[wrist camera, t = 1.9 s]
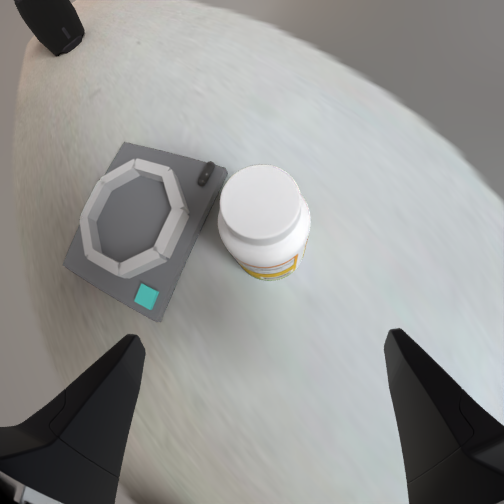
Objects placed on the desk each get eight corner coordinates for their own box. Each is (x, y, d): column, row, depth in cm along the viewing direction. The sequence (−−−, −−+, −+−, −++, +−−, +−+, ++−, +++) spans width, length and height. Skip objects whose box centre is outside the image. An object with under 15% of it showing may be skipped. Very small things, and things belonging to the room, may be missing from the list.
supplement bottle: (262, 204, 24) (248, 135, 15) (316, 239, 23) (336, 185, 13) (223, 256, 23) (183, 213, 14) (278, 295, 22) (273, 277, 13)
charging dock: (160, 321, 23) (147, 321, 20) (68, 267, 25) (52, 261, 22) (227, 173, 25) (222, 159, 23) (128, 147, 27) (117, 134, 25)
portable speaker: (55, 49, 39) (15, -4, 20) (90, 26, 39) (54, -33, 20) (51, 65, 36) (4, 6, 18) (89, 39, 36) (47, -27, 18)
